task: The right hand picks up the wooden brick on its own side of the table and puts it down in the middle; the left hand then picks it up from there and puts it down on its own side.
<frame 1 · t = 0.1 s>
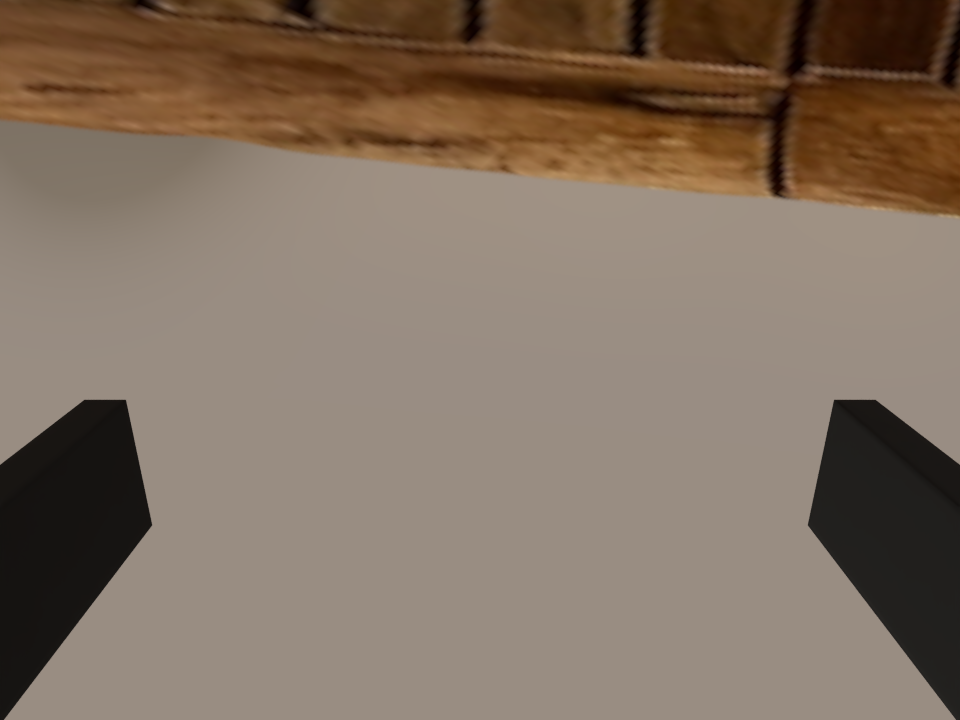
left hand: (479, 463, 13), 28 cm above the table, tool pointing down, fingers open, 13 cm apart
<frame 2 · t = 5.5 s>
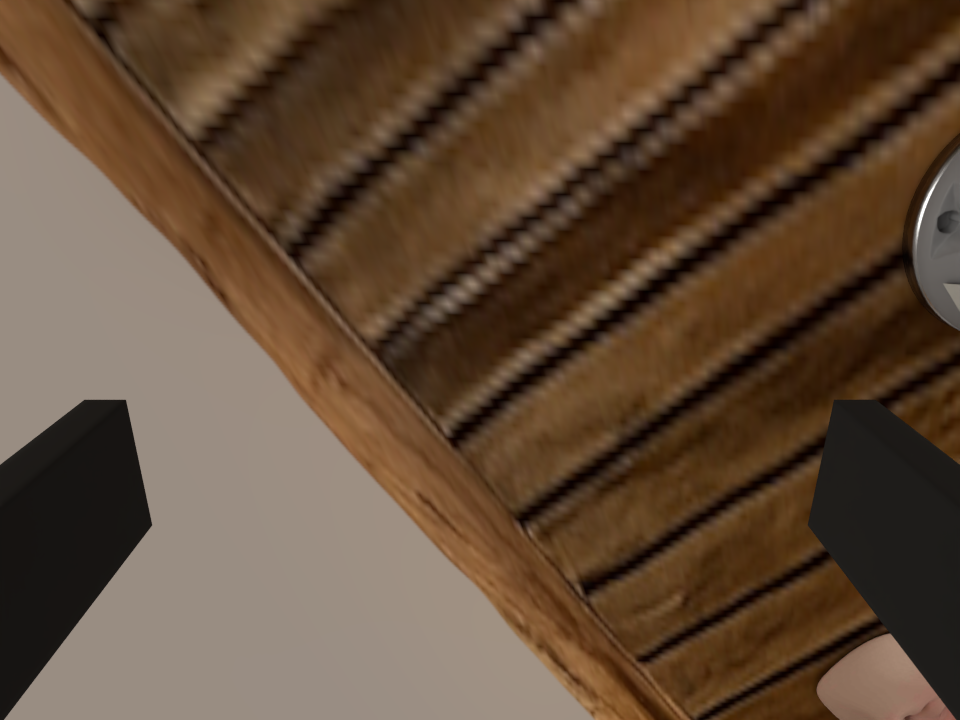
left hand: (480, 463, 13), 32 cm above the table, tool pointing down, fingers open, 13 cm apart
anatomical model: (900, 680, 57), on the table
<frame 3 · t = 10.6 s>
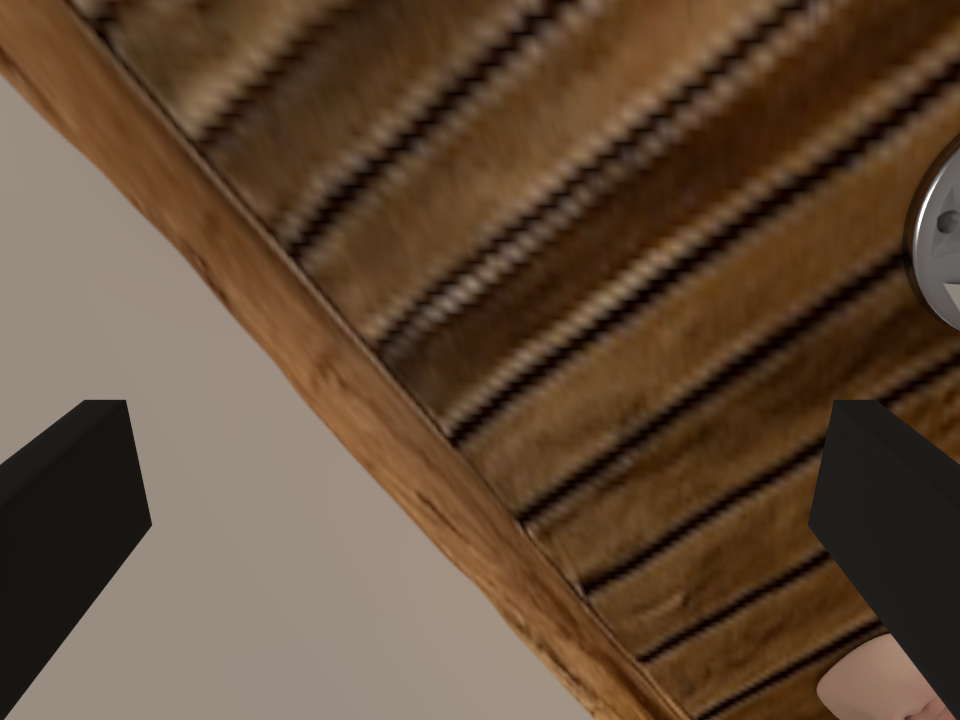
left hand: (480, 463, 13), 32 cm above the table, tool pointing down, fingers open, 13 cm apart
anatomical model: (900, 680, 57), on the table
when the right hand's fingers open (4 cm above the table, at t = 15.9 s): brick drops 2 cm, on the table.
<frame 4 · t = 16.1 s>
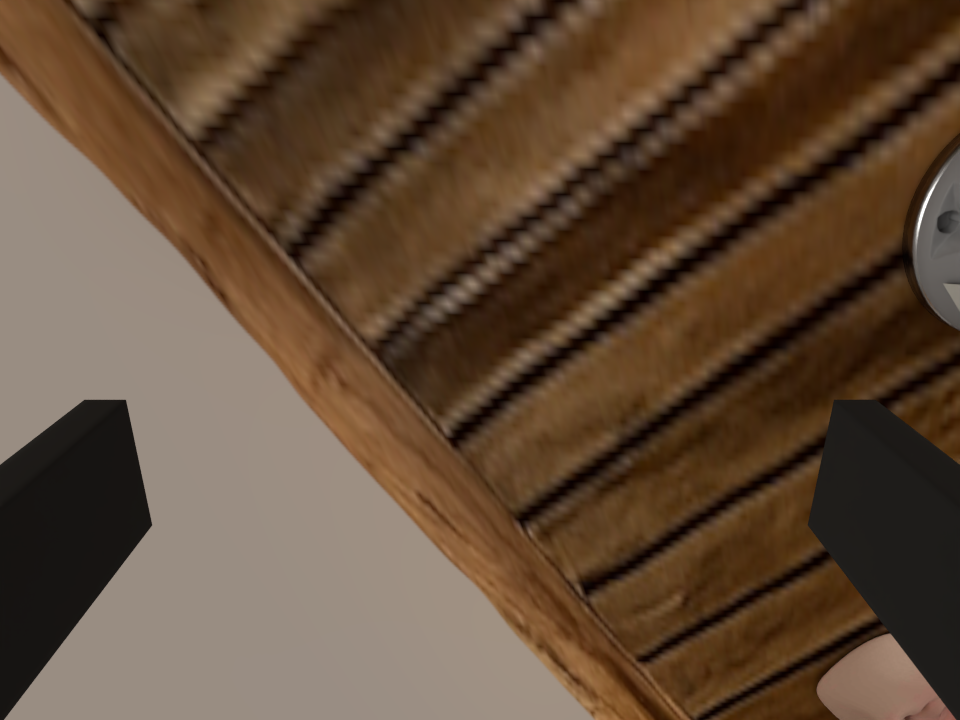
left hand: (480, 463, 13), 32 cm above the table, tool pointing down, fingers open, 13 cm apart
anatomical model: (900, 680, 57), on the table
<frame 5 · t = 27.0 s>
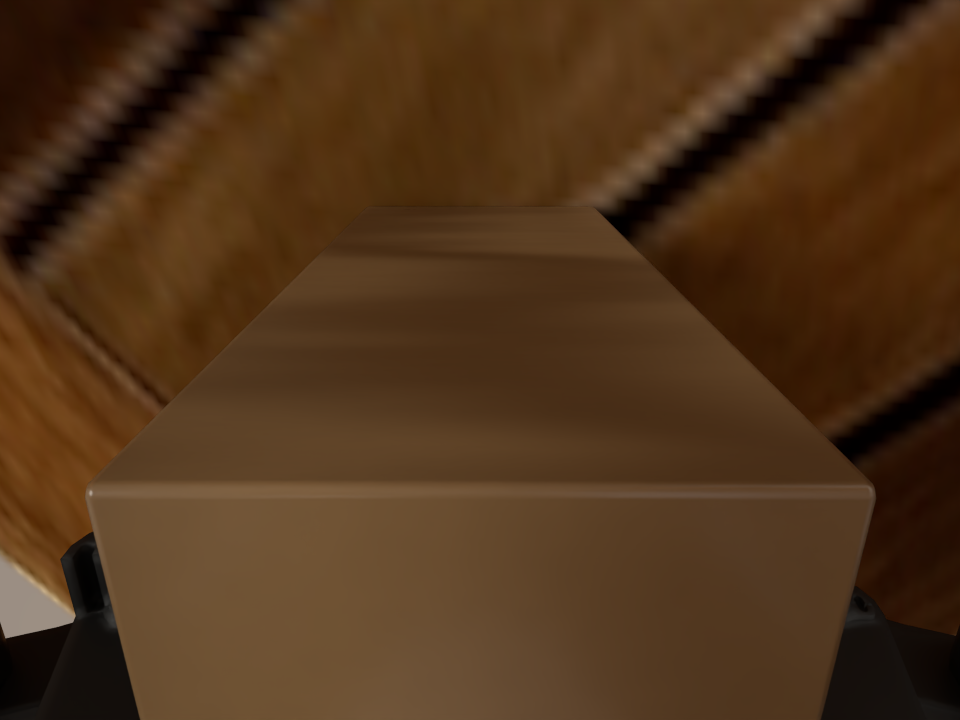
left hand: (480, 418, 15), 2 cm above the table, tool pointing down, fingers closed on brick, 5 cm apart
brick: (480, 385, 17), on the table, touching left hand
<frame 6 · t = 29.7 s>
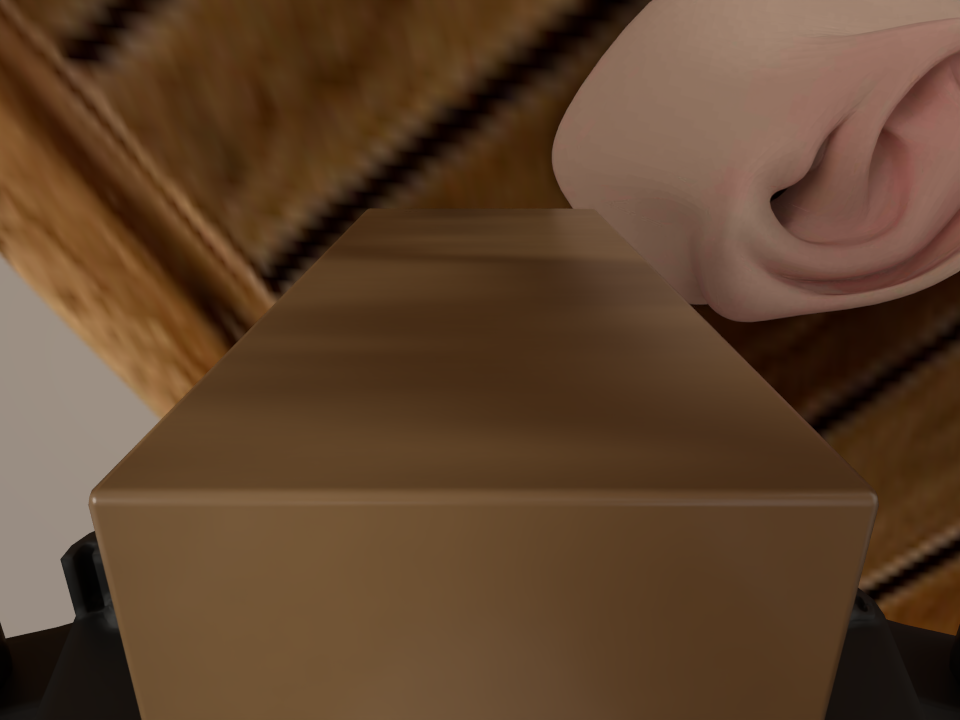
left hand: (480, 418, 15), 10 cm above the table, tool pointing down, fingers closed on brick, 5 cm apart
brick: (481, 387, 17), point 8 cm above the table, touching left hand
anatomical model: (770, 146, 22), on the table
when the left hand's fingers open (4 cm above the table, at t = 32.5 s): brick drops 2 cm, on the table.
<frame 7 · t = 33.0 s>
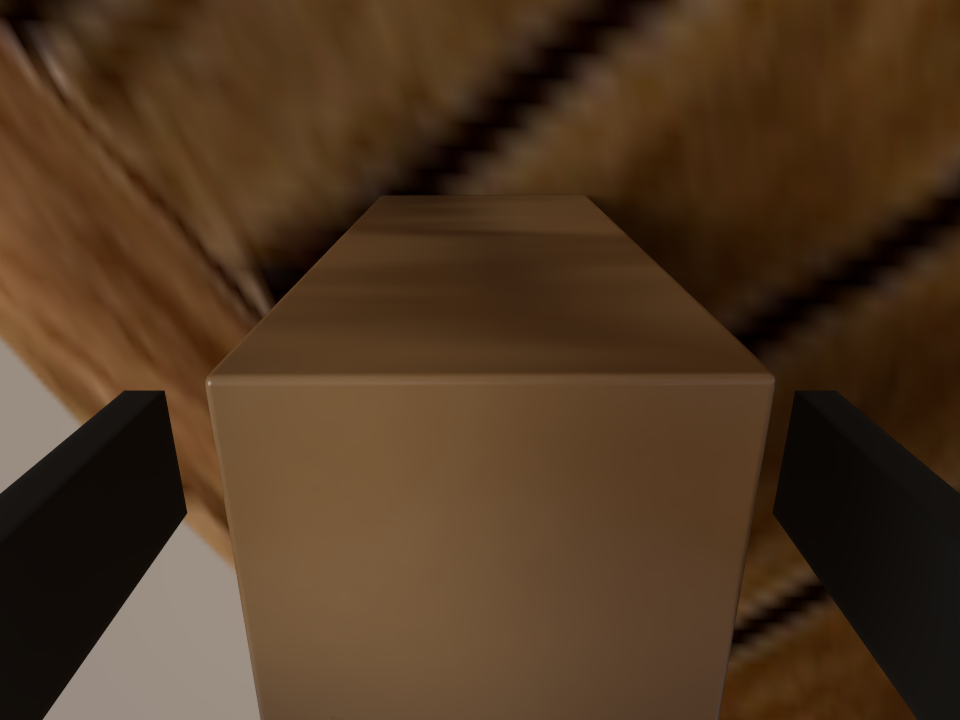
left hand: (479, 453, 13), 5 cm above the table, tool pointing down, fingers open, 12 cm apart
brick: (483, 358, 18), on the table
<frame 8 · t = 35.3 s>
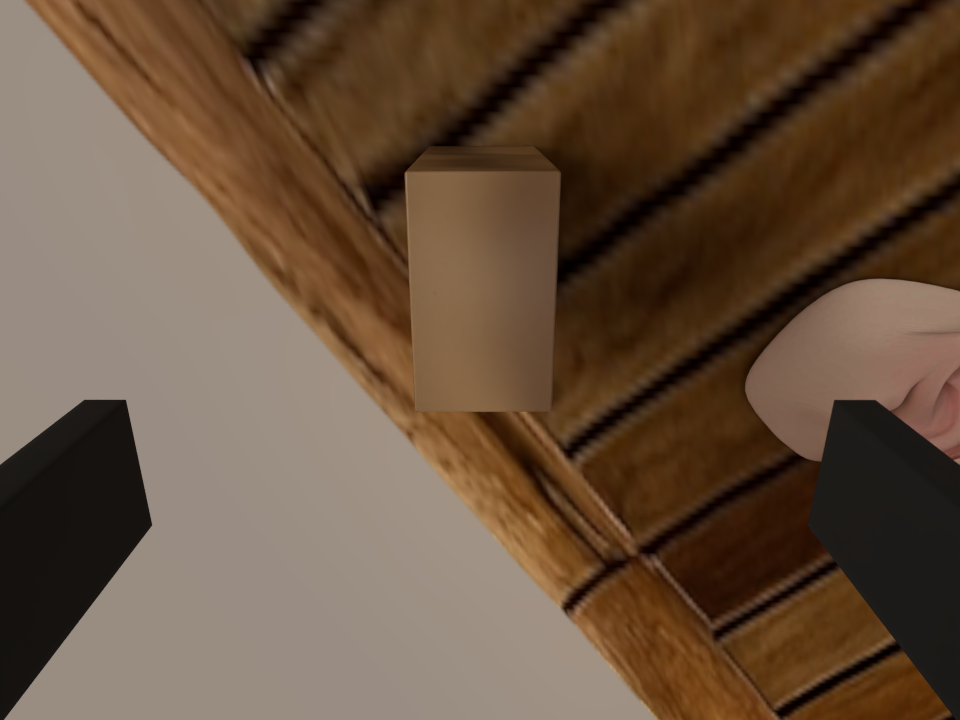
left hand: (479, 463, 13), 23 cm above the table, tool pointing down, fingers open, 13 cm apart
brick: (481, 235, 34), on the table
anatomical model: (873, 374, 37), on the table
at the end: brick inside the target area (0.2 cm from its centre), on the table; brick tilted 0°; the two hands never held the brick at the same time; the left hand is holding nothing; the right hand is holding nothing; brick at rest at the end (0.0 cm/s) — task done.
